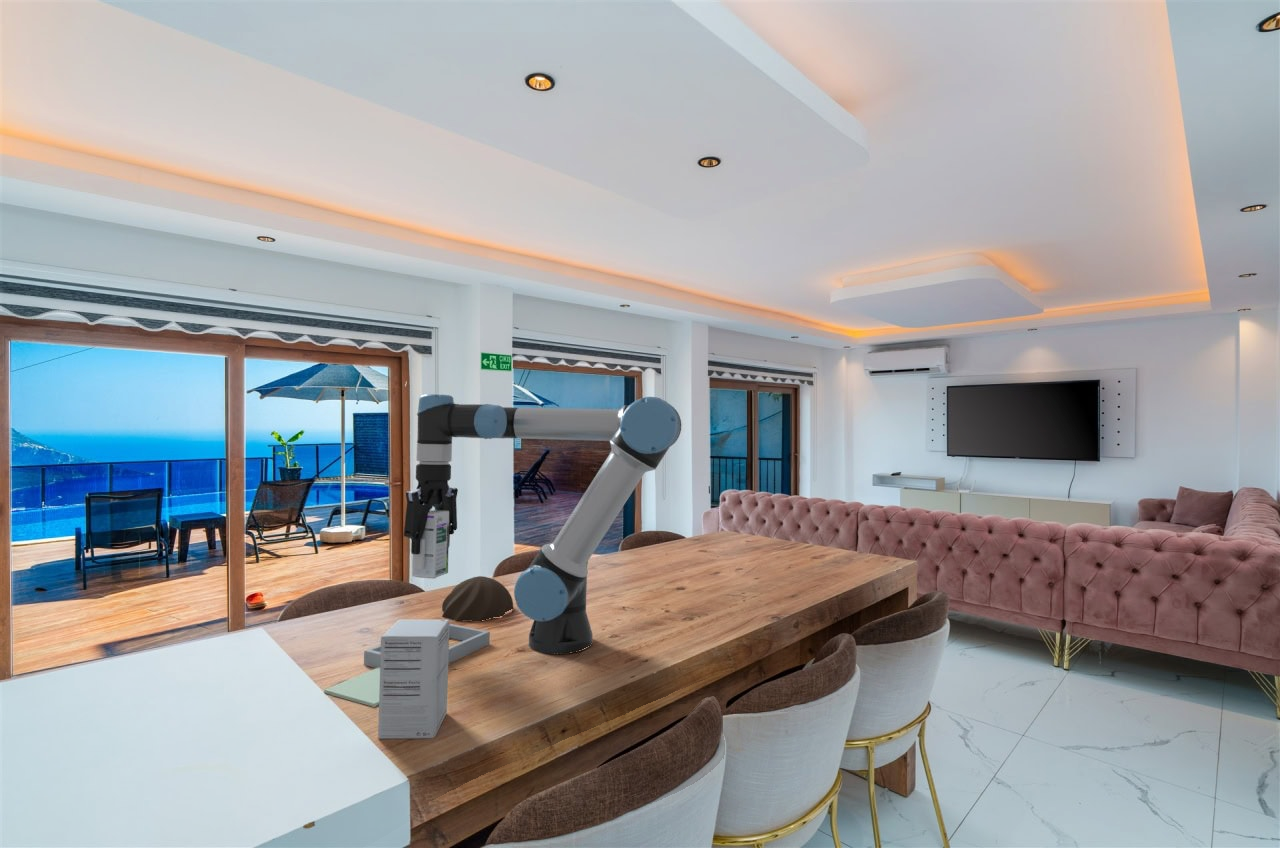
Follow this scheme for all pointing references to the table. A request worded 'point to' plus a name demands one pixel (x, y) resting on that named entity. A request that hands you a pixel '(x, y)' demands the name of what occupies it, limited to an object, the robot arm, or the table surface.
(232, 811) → the table surface
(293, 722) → the table surface
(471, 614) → the decorative dome
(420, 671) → the supplement box
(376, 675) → the mat
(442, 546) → the syrup box
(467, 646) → the gray rectangular frame
